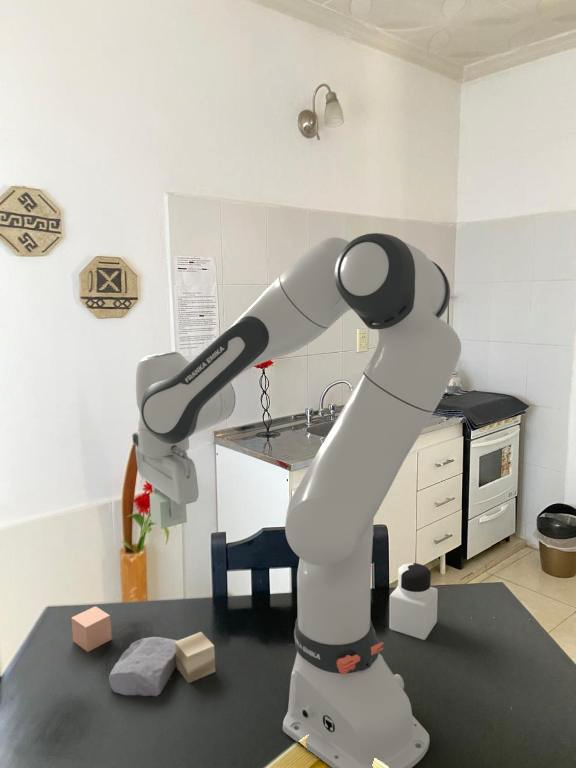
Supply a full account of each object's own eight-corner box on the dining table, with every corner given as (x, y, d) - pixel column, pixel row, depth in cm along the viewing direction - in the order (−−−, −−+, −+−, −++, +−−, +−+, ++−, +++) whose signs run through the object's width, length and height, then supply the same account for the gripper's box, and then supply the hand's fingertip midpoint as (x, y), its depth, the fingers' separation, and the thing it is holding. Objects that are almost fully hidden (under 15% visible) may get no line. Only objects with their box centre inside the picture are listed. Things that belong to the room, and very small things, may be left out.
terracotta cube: (111, 639, 109) (109, 615, 108) (87, 652, 105) (85, 627, 104) (97, 629, 112) (95, 606, 111) (73, 642, 108) (71, 617, 107)
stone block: (106, 704, 95) (163, 699, 93) (99, 677, 94) (156, 671, 92) (137, 660, 106) (188, 655, 104) (131, 636, 106) (182, 630, 104)
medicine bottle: (437, 622, 112) (438, 564, 110) (425, 641, 106) (426, 580, 104) (402, 611, 116) (403, 556, 114) (388, 629, 110) (389, 571, 108)
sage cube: (186, 522, 107) (185, 496, 106) (161, 528, 104) (159, 502, 103) (175, 513, 111) (174, 489, 110) (151, 520, 108) (149, 494, 107)
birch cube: (215, 672, 99) (214, 645, 98) (188, 683, 96) (187, 656, 95) (202, 657, 103) (201, 631, 102) (176, 668, 100) (174, 641, 100)
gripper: (205, 450, 98) (209, 526, 101) (159, 427, 115) (163, 493, 117) (170, 456, 95) (175, 536, 97) (128, 432, 112) (133, 500, 114)
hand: (168, 512), depth 107 cm, fingers closed on sage cube, 5 cm apart
